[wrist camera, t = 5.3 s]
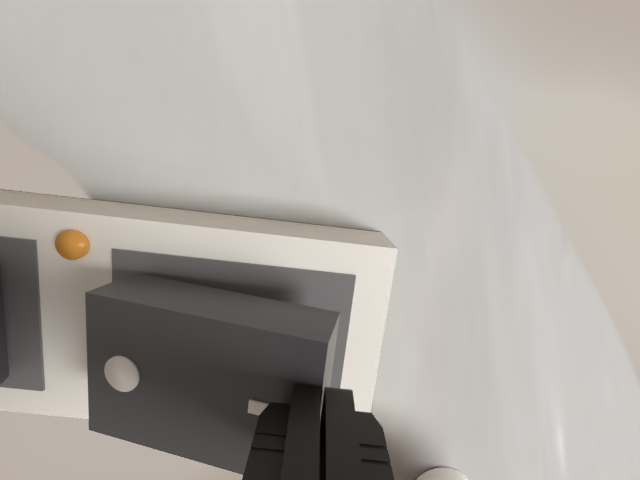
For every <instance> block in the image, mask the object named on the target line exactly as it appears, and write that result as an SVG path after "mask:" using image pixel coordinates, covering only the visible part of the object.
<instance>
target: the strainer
mask: <svg viewBox="0 0 640 480" xmlns="http://www.w3.org/2000/svg"><path fill="white" fill-rule="evenodd" d="M416 480H468V479H467V477H466V476H465V475H464V474H462V473H461V472H459V471H457V470H455V469H452V468H445V467H441V468H434V469H431V470H429V471H426V472H425V473H423V474H422V475H420V476H419V477H418V478H417V479H416Z"/></svg>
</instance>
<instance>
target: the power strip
mask: <svg viewBox="0 0 640 480" xmlns="http://www.w3.org/2000/svg"><path fill="white" fill-rule="evenodd" d="M397 250H398V248H397V247H396V246H395V245H394V244H393V243H392V242H391V241H390V240H389V239H388V238H387V237H386V236H385V235H384V233H383V232H375V231H366V230H358V229H349V228H340V227H331V226H322V225H313V224H305V223H296V222H287V221H278V220H269V219H260V218H252V217H243V216H234V215H225V214H216V213H207V212H198V211H190V210H181V209H172V208H163V207H154V206H145V205H137V204H128V203H119V202H110V201H101V200H92V199H83V198H75V197H66V196H57V195H48V194H39V193H30V192H22V191H13V190H3V189H0V268H1V280H2V293H3V305H4V317H5V330H6V342H7V355H8V367H9V377H8V378H7V379H6V380H5V381H4V382H3V383H2V384H1V385H0V410H1V411H11V412H21V413H31V414H41V415H51V416H61V417H71V418H82V419H89V410H88V375H87V339H86V304H85V292H88V291H90V290H93V289H96V288H98V287H101V286H103V285H106V284H109V283H111V282H114V281H116V280H119V279H122V278H124V277H127V276H129V275H132V274H135V273H138V274H144V275H149V276H154V277H159V278H164V279H170V280H175V281H180V282H185V283H190V284H196V285H201V286H206V287H211V288H216V289H222V290H227V291H232V292H237V293H242V294H248V295H253V296H258V297H263V298H268V299H274V300H279V301H284V302H289V303H294V304H300V305H305V306H310V307H315V308H320V309H326V310H331V311H336V312H340V318H339V325H338V333H337V340H336V348H335V355H334V362H333V370H332V377H331V385H330V387H332V388H341V389H350V390H352V391H353V397H354V405H355V411H360V412H369V413H371V407H372V401H373V395H374V389H375V383H376V377H377V371H378V365H379V359H380V353H381V347H382V341H383V334H384V328H385V322H386V316H387V310H388V304H389V298H390V292H391V286H392V280H393V274H394V268H395V262H396V256H397Z"/></svg>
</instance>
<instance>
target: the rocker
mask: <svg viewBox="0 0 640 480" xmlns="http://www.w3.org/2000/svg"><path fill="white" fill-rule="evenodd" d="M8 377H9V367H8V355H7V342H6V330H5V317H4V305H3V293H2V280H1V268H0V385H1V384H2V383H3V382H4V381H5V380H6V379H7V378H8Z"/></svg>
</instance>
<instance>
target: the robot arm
mask: <svg viewBox="0 0 640 480" xmlns="http://www.w3.org/2000/svg"><path fill="white" fill-rule="evenodd" d="M320 394H321V387H320V386H313V385H303V384H294V385H293V392H292V399H291V404H285V403H276V402H270V404H269V405H268V406H267V407H266V408H265V409H264V410H263V411H262V413H261V414H260V415H259V418H258V422H257V425H256V429H255V434H254V437H253V441H252V444H251V449H250V452H249V456H248V460H247V463H246V467H245V471H244V475H243V479H242V480H394V477H393V473H392V468H391V466H390V459H389V455H388V450H387V446H386V441H385V437H384V432H383V428H382V427H381V425H380V424H379V423H378V421H377V420H376V419H375V417H374V416H373V414H372V413H369V412H360V411H355V405H354V397H353V391H352V390H350V389H341V388H332V387H325V389H324V395H323V402H322V410H321V418H320Z"/></svg>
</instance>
